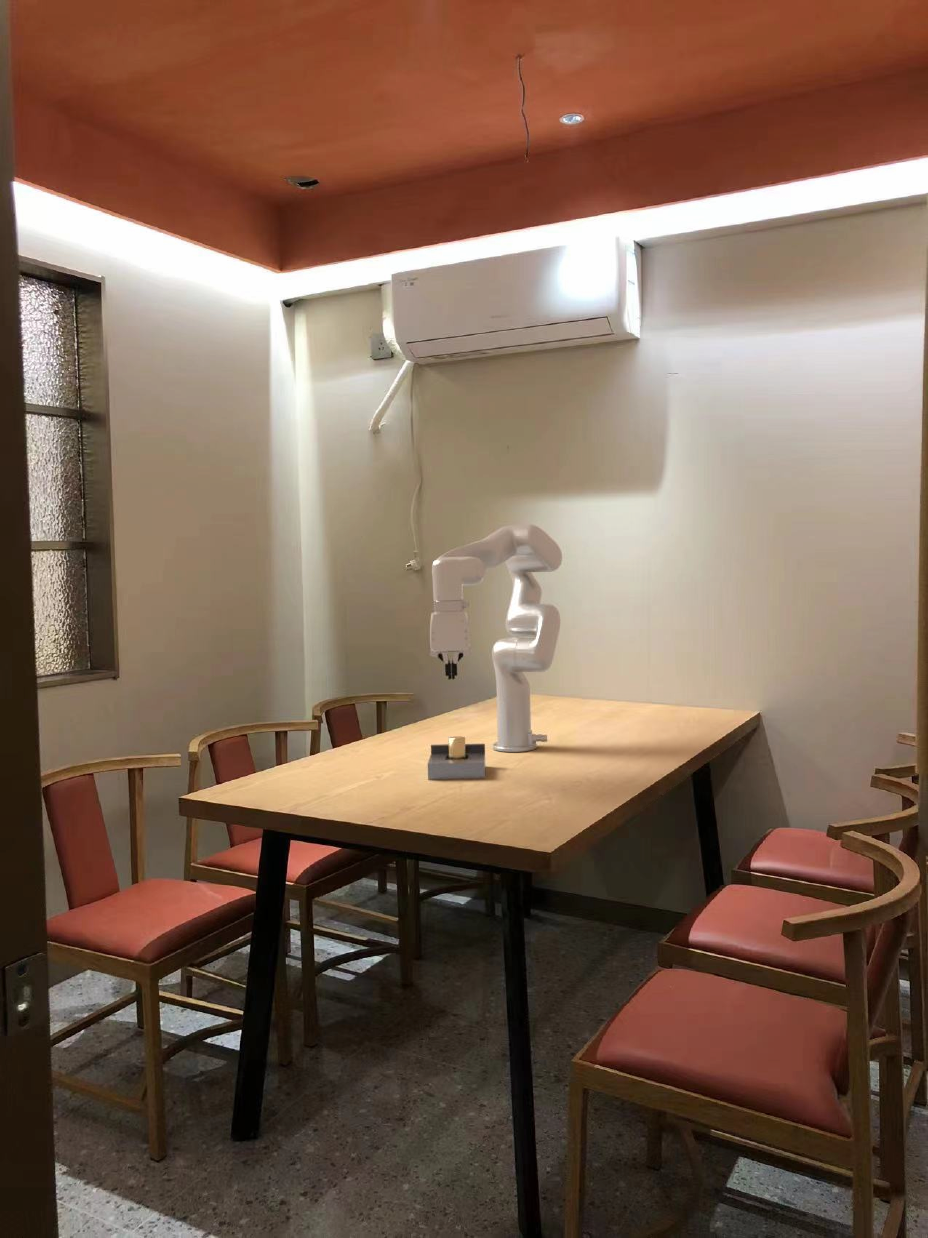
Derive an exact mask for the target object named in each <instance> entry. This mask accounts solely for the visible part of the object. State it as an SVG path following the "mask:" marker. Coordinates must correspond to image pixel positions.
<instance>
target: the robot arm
mask: <svg viewBox="0 0 928 1238" xmlns="http://www.w3.org/2000/svg"><path fill="white" fill-rule="evenodd" d="M562 561H563V554H562V549H561V547H560V546H559V544H558V543H557V542H556V541H555V540H554V539H553V538H552V537H551V536H550V535H548V533H547V532H545V531H544V530H543V529H542V528H540V527H539V526H537V525H533V524H519V525H517V524H516V525H505V526H502V527H500V528H499V529H497V530H494V532H492V533H491V534H489V535H487V536H486V537H485V538H482V539H480V540H478V541H473V542H471V543H469V544H466V545H462V546H458V547H456V548H453V549H451V550H448V551H447V552H445V553H443V554H442V555H440V556H439V557H437V559H435V560H434V561H433V562H432V565H431V575H432V592H433V593H432V594H433V596H432V597H433V611H434V612H431V614H430V615H431V616H430V620H429V621H430V623H429V645H430V650H429V657H432V658H437V659H439V660H440V661H441V662H443V664H444V667H445V668H444V669H445V673H444V674H445V677H448V679H447V680H455V678H456V676H457V677H458V662H460V661H461V660H462V658H463V657H468V656H471V655H472V650H471V637H470V636H471V633H470V623H469V617H468V613H467V611H464V609H466V608H470V604H469V603H470V602H469V601H465V600H464V592H463V591H464V590H463V589H464V588H463V587H464V586H469V587H470V586H476V585H479V584H480V583H482V582H483V581H484V580H485V577H486V575H487V571H488V570H492V569H497V568H498V567H499V566H501V565H503V564H504V563H505V566H506V568H507V571H508V573H509V576H510V579H511V583H512V592H511V596H510V597H511V598H510V599H509V600H510V601H509V603H508V604H509V605H508V608H507V609H508V610H507V614H506V616H505V625H504V626H505V630H506V632H507V633H508V634H509V635H511V636H515V637H505V638H500V639H499V640H497V641H496V642H495V643H494V644H493V646H492V649H491V657H492V659H491V660H492V663H493V667H494V673H495V683H496V684H495V686H496V716H497V717H496V718H497V719H496V723H497V725H496V726H497V741H496V742H494V743H492V749H493V750H495V751H497V752H504V753H519V752H529V751H532V750H536V749H537V748H538V747H537V746H538V745H537V742H541V743H542V742H543V743H546V742H548V734H540V733H539V734H535V733H533V730H532V728H531V727H532V721H531V720H532V718H531V714H532V713H531V687H530V684H529V683H530V682H529V681H528V679H527V676H526V675H525V674H524V673H544V672H547V671H548V670H549V669H550V667H551V666H552V664H553V660H554V656H555V651H556V647H557V643H558V639H559V634H560V628H561V615H560V612H559V610H558V608H557V607H556V606H555V605H553V604H550V603H541V599H542V588H541V586H540V583H539V582H538V581H537V579H536V578H535V576H534V575H533V573H550V572H555V571H557V570H558V569H559V568H560V566H561V565H562ZM448 653H453V657H452V658H453V659H452V660H451V661H450V659H449V655H448Z"/></svg>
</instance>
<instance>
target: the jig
mask: <svg viewBox="0 0 928 1238" xmlns="http://www.w3.org/2000/svg"><path fill="white" fill-rule="evenodd" d="M485 745H486V744H485V743H465V756H466V759H460V760H449V743H448V744H446V743H445V744H431V745H430V756H429V758H428V761H427V779H428V780H429V781H430V780H431V781H432V780H476V779H477V780H480V779H482V780H483V779H485V777H486V776H485V775H486V746H485Z"/></svg>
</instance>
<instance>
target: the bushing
mask: <svg viewBox="0 0 928 1238" xmlns="http://www.w3.org/2000/svg"><path fill="white" fill-rule="evenodd" d="M448 744H449V760H460V759H466V756H465V744H466V737H465V736H461V735H460V736H459V735H457V736H456V735H454V736H449V737H448Z"/></svg>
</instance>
